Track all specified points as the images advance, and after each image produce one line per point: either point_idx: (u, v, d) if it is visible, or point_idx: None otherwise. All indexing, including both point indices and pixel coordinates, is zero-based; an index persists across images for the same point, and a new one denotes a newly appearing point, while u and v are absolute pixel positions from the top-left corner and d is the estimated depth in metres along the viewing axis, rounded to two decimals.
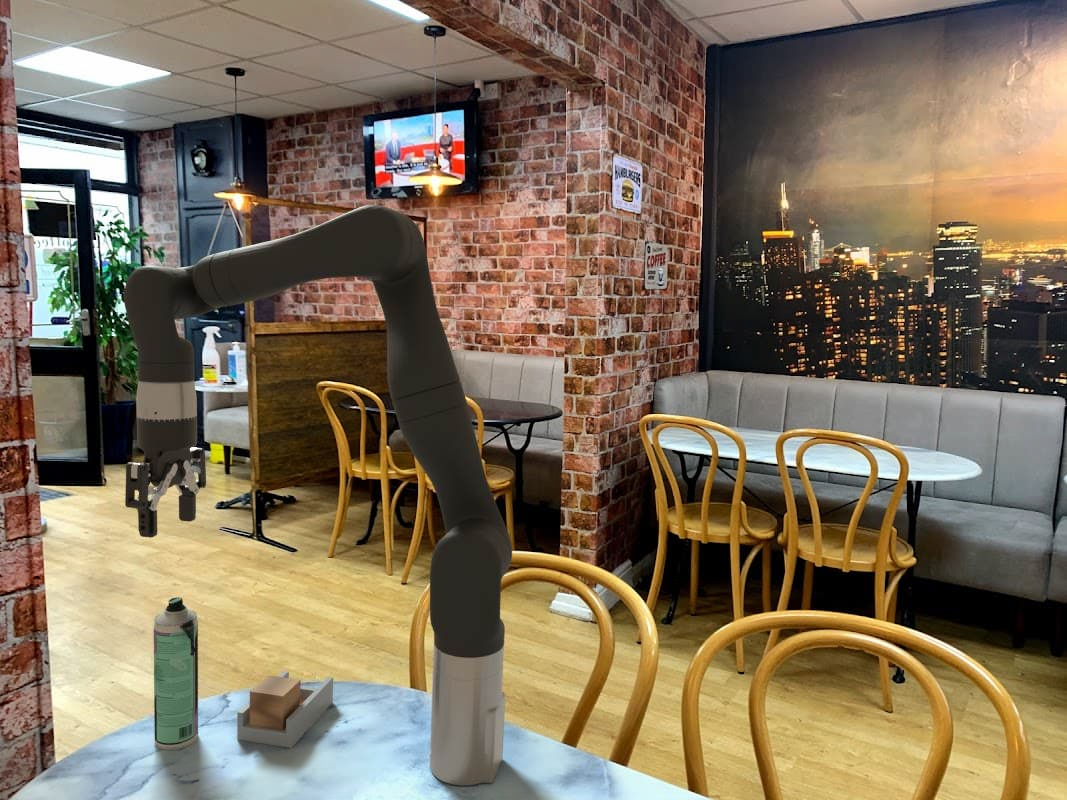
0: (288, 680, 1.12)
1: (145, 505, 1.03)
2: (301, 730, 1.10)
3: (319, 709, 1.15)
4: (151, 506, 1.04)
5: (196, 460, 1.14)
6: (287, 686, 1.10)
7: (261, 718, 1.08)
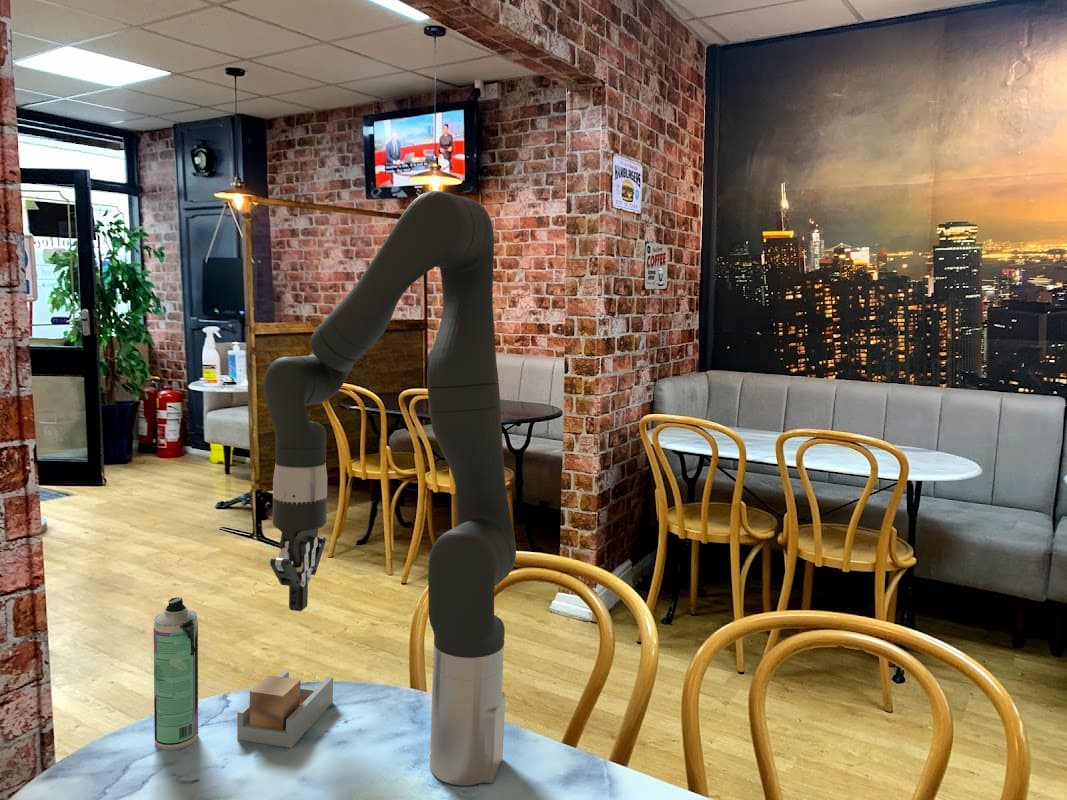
0: (288, 680, 1.12)
1: (298, 583, 1.12)
2: (301, 730, 1.10)
3: (319, 709, 1.15)
4: (302, 583, 1.13)
5: (317, 544, 1.18)
6: (287, 686, 1.10)
7: (261, 718, 1.08)
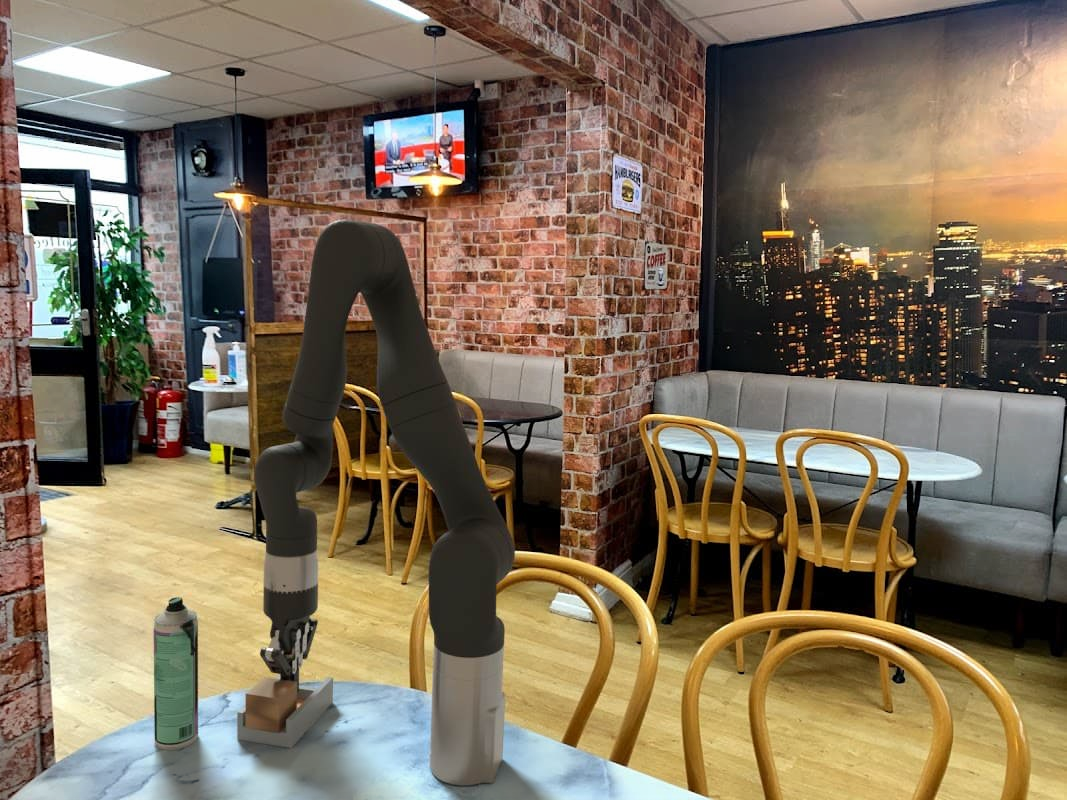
0: (285, 682, 1.11)
1: (289, 671, 1.11)
2: (301, 730, 1.10)
3: (319, 709, 1.15)
4: (293, 670, 1.13)
5: (309, 627, 1.18)
6: (283, 688, 1.09)
7: (257, 720, 1.08)
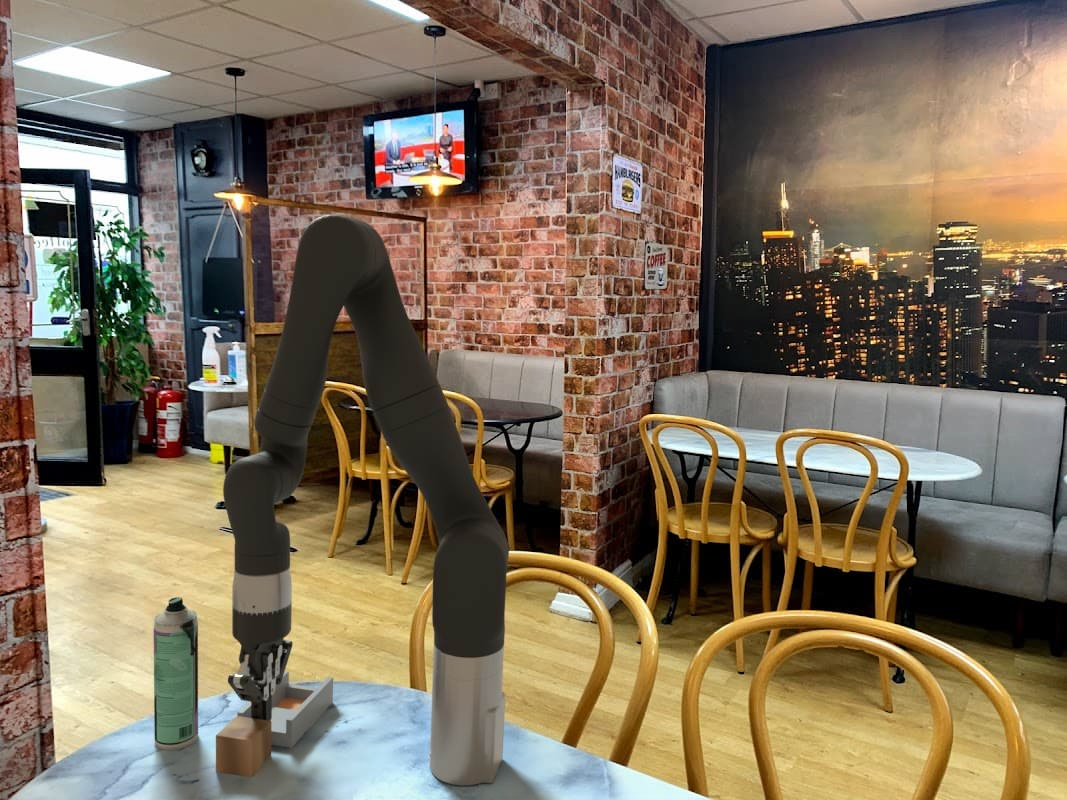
0: (241, 744, 1.00)
1: (260, 698, 1.03)
2: (301, 730, 1.10)
3: (319, 709, 1.15)
4: (264, 697, 1.05)
5: (283, 650, 1.10)
6: (245, 757, 1.00)
7: None
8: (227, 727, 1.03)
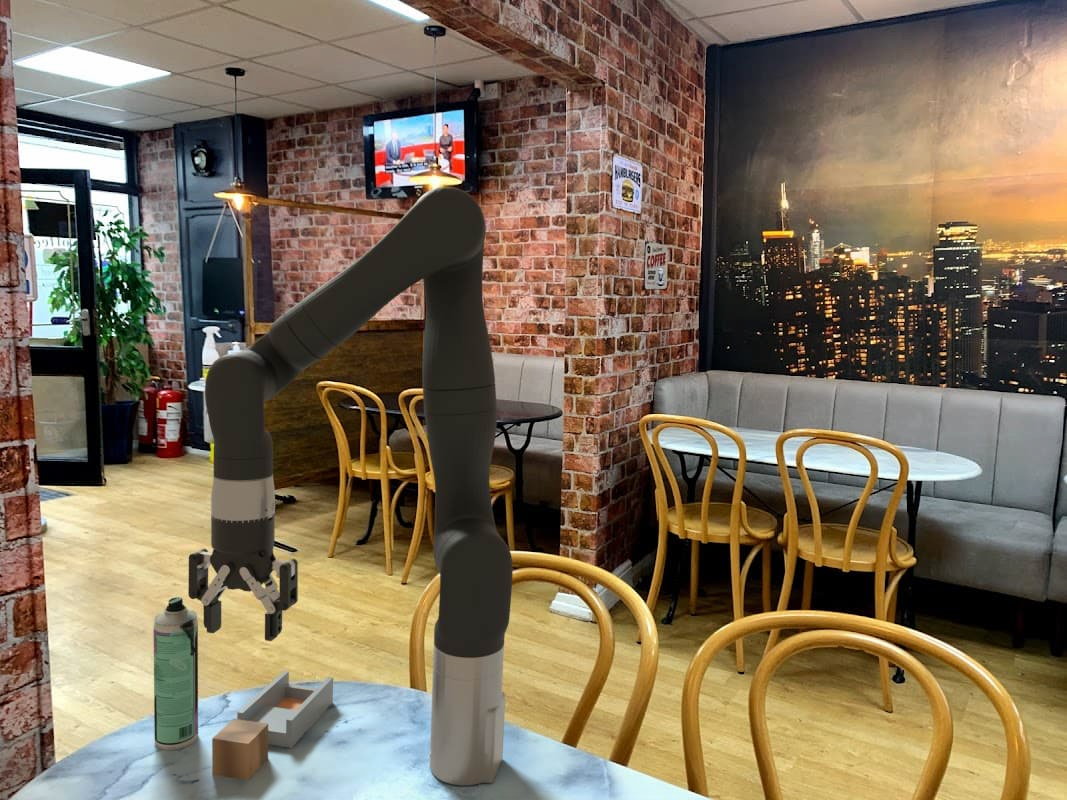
0: (238, 747, 1.00)
1: (192, 595, 1.00)
2: (301, 730, 1.10)
3: (319, 709, 1.15)
4: (202, 600, 1.00)
5: None
6: (242, 760, 1.00)
7: None
8: (224, 730, 1.02)
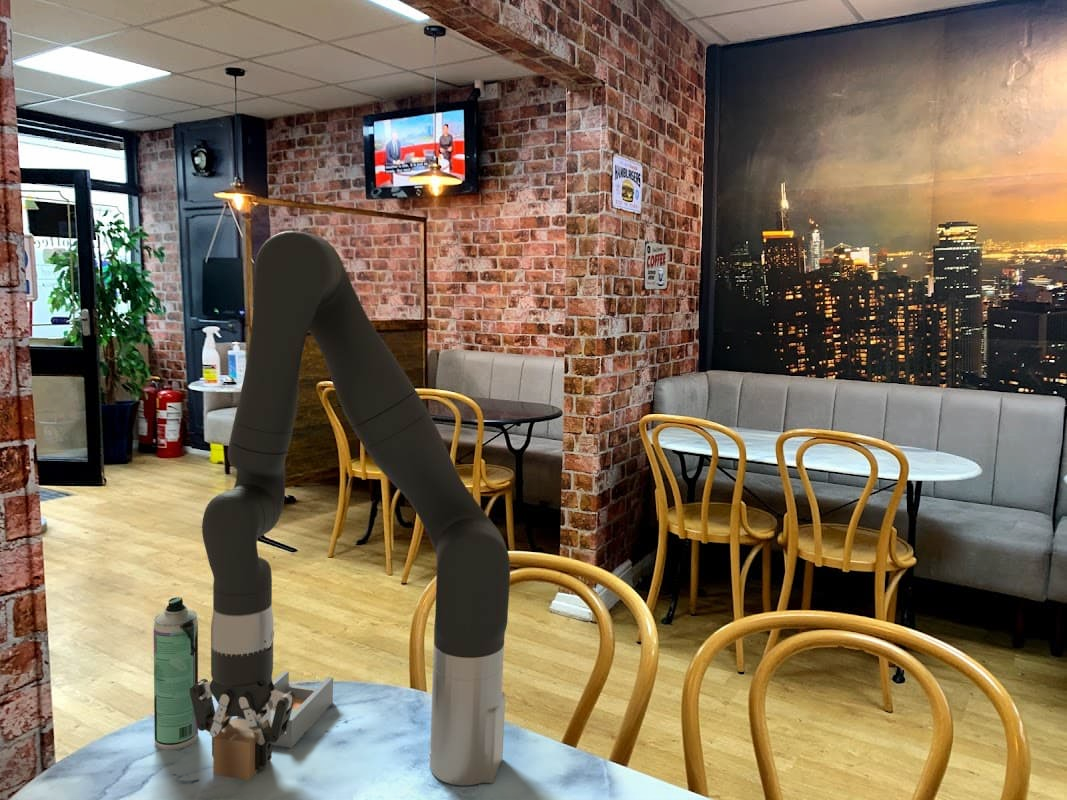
0: (239, 747, 0.99)
1: (201, 727, 1.02)
2: (301, 730, 1.10)
3: (319, 709, 1.15)
4: (210, 732, 1.02)
5: (274, 707, 1.00)
6: (243, 759, 1.00)
7: None
8: (225, 729, 1.02)
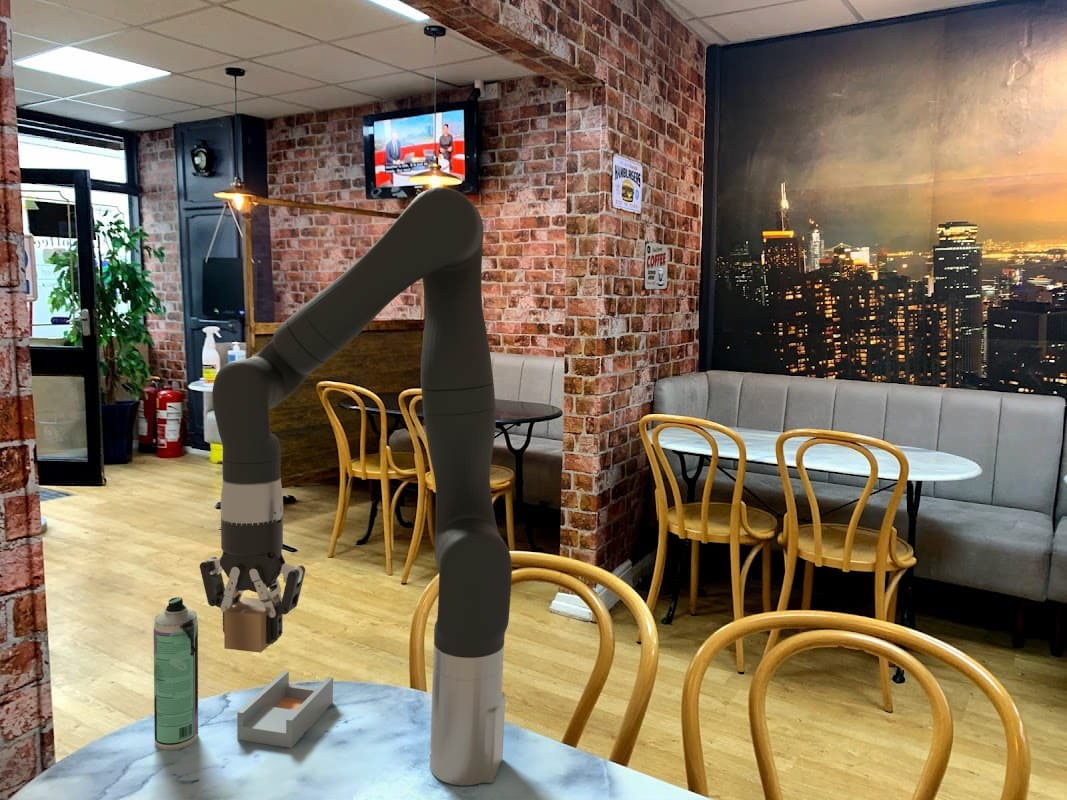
0: (250, 619, 1.00)
1: (211, 603, 1.02)
2: (301, 730, 1.10)
3: (319, 709, 1.15)
4: (221, 607, 1.02)
5: None
6: (254, 632, 1.00)
7: None
8: (235, 605, 1.02)
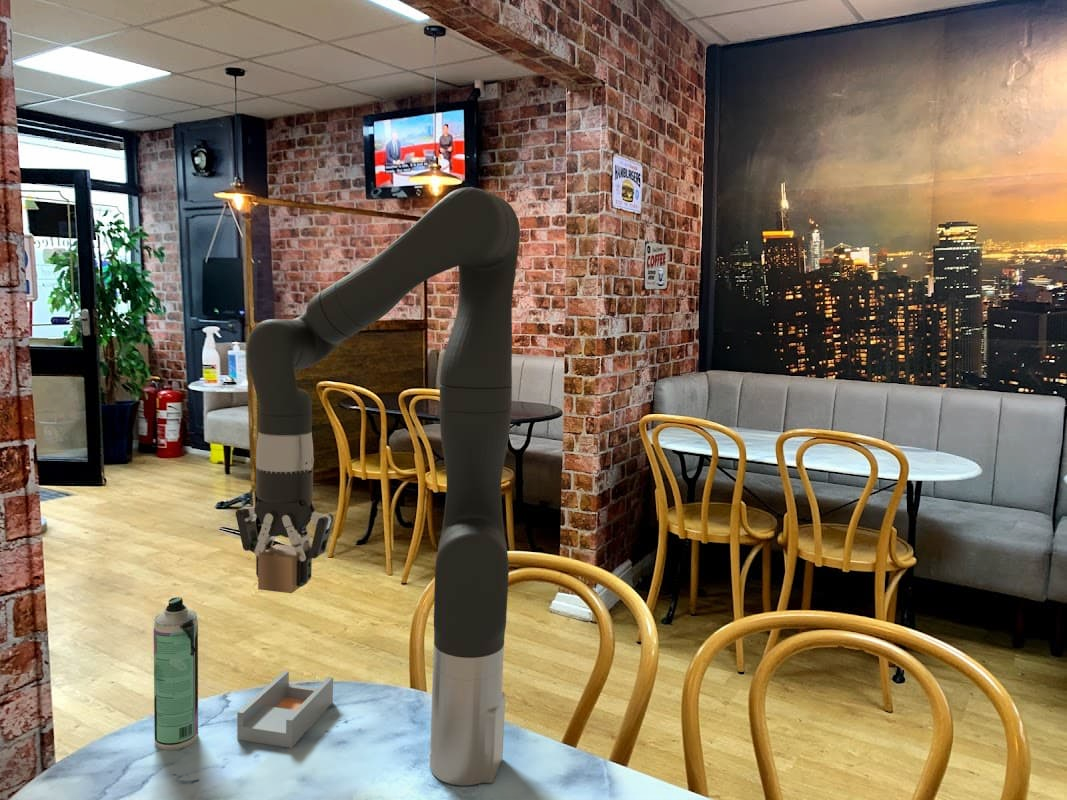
0: (282, 562, 1.07)
1: (246, 547, 1.10)
2: (301, 730, 1.10)
3: (319, 709, 1.15)
4: (255, 551, 1.09)
5: None
6: (286, 574, 1.07)
7: None
8: (268, 550, 1.10)
